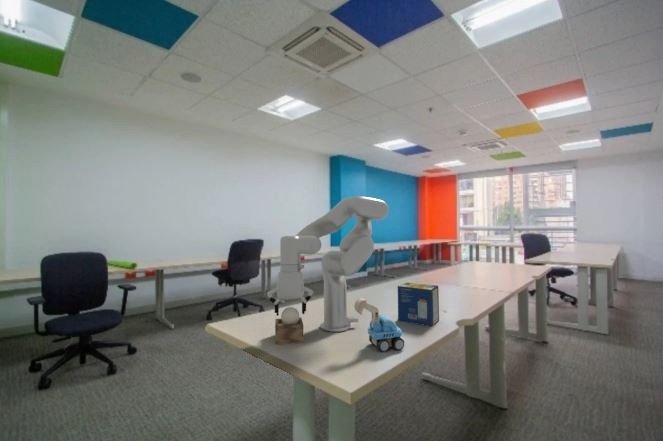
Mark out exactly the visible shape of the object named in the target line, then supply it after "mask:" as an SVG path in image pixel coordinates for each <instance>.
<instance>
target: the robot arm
mask: <svg viewBox="0 0 663 441" xmlns="http://www.w3.org/2000/svg"><path fill="white" fill-rule="evenodd" d="M388 215H389V205H388V203H386V202H385V201H384V200H382V199H377V198H373V197H367V196H362V195H359V196H358V195H356V196H348V197H344V198H343V199H341V200H340V201H339V202H338V203H337V204H336V205H334V206H333V207H332V208H331V209H330V210H329V211H327V212H326V213H325V214H324V215H322V216H321V217H319V218H317V219H316V220H314V221H312V222H311V223H309V224H307V225H306V226H305V227H303V228H302V229H301V230H300V231H299V232H298V233H296V234H295V235H283V236H281V237H280V244H279V245H280V248H279V249H280V251H279V252H280V253H279V254H280V255H279V256H280V257H279V258H280V261H279V263H280V264H279V265H280V266H279V268H280V271H278V272H277V273H278V274H277V278H276V287H274V288H273V289H270V290H269V291H267V292H266V295H267V297H268V298H269V301H270V302H271V303H272V304H273V305H274V313H275V314H276V316H277V317H278V316H280V315H279V310H280V309H279V303H280V301H281V300H282V301H283V300H298V299H299V300H301V301H302V302H301V314H302V315H305V314H306V312H307V303H308V301H310V300H311V298H312V296H313V294H314V290H312V288H309V287H306V286H305V285H304V283H305V282H304V275H303V271H302V270H303V269H305V265H304V264H302V263H301V255H315V254H317V253H318V252H319V251H320V250H321V249H322V241H321V239H320V238H322V237H324V236H328V235H331V234H334V233H337V232H338V231H339V230H341V228H342V227H344V225H345V224H347V223H348V222H349V221H350V220H351V219H352V218H353V217H355V219H356V221H355V225H354V227H353V228H351V230H350V231H349V232H348V233H347V234H346V235H345V237H343V238H342V240H340V243H339V247H338V248H339V250H330V251H327V252H326V253H324V255H323V256H322V257H321V258H322V259H321V271H322V278H323V321H322V322H321V323H320V325H319V326H320V329H321V330H323V331H326V332H333V333H334V332H335V333H337V332H338V333H339V332H345V331H348V330H349V329H351V327H352V325H351V323H359V317H356V316H349V315H348V309H347V308H348V305H347V303H348V299H347V298H348V294H347V291H348V290H347V284H348V283H347V280H346V277H352V276H354V275H356V274H357V273H358V271H359V270H360V269H361V268H362V267H363V266H364V265H365V264H366V262H367V261H369V259H370V257H371V256H372V254H373V253H374V248H375V243H374V240H373V239H372V237H371V236H372V234H373V227H372V226H373V225H372V221H380V220H381V221H382V220H385V219H386V218H387V216H388ZM305 292H307V293H308V294H307V295H306V297H305ZM274 293H276V298H275V297H273V295H274Z"/></svg>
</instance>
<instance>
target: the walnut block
mask: <svg viewBox="0 0 663 441" xmlns="http://www.w3.org/2000/svg"><path fill="white" fill-rule="evenodd" d="M274 324H275V327H274V328H275V330H274V331H275V333H274V336H275V339H274V342H275V343H274V344H275V345H284V344H285V345H287V344H298V343H299V344H300V343H302V344H303V343H304V321H303V319H302V317H300V316H299V321H298V322H297V324H295V325H285V324H283V322H282V320H281V318H275V320H274Z"/></svg>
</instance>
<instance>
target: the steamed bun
mask: <svg viewBox="0 0 663 441" xmlns="http://www.w3.org/2000/svg"><path fill="white" fill-rule="evenodd" d="M299 317H300V313H299V310H298V309H297V308H295V307H292V306H290V307H286V308H285V309H283V310H282V312H281V315H280V319H281V320H282V322H283V324H285V325H295V324H297V322H298V321H299Z"/></svg>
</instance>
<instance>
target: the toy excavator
mask: <svg viewBox="0 0 663 441" xmlns="http://www.w3.org/2000/svg"><path fill="white" fill-rule="evenodd" d="M364 309H365V310H367V311H368V312H370V313H371V320H370V322H369V327H367V334H368V337H369V338H368V341H369V342H370V343H371V344H372V345H375V346H376V348H377V349H378V350H379V351H380V352H382V353H385V352H387V351H388V350H389V349H390V348H391V347H392V348H394V349H395V350H397V351H402V350H403V349H404V348H405V340H404V339H403V338H401V337H402V335H403V334H402V329H401V328H400V327H399V326H397V324H396V322H395V321H393V320H392V319H391V318H389V317H388V316H386V315H383V314H382V315H381V314H380V311H379V308H378V307H377V306H376V305H374V304H371V303H370V302H368V301H367V300H366V299H365V298H362V297H360V298H358V299H357V300H356V301H355V302H354V310H355V311H356V312H357V313H358V314H359V315H362V313H363V310H364Z"/></svg>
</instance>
